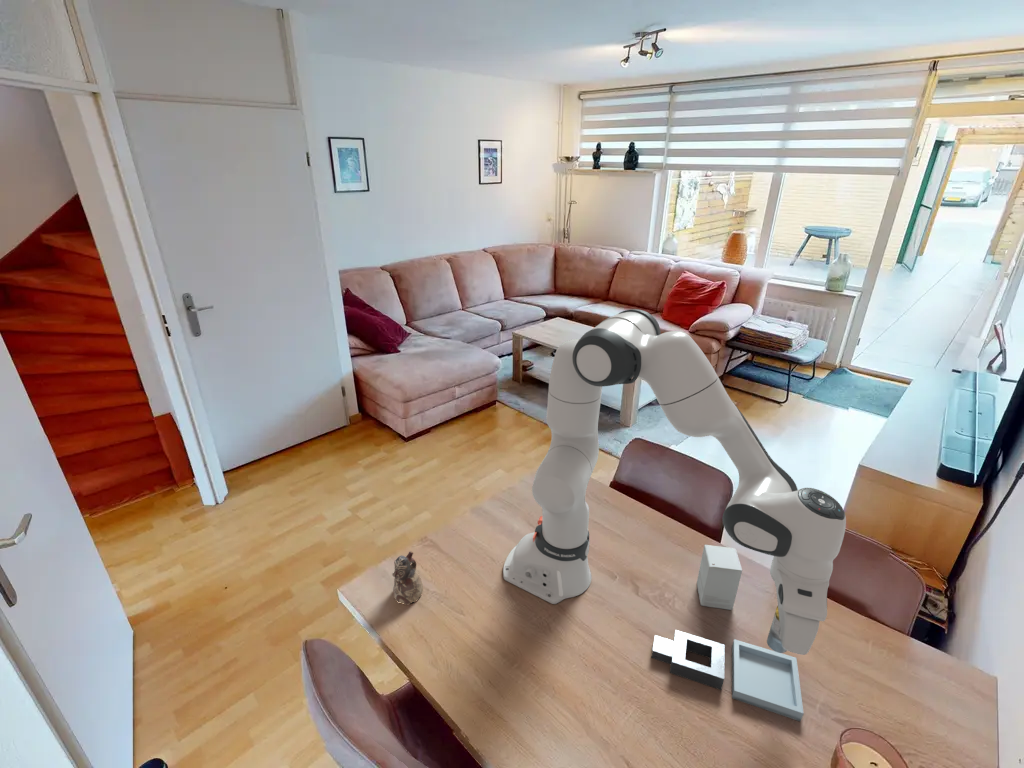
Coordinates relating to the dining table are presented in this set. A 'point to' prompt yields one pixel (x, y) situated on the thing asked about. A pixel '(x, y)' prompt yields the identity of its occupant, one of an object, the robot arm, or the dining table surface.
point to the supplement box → (719, 577)
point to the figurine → (406, 580)
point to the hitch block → (675, 656)
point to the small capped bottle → (775, 635)
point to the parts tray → (766, 679)
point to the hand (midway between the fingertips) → (782, 626)
